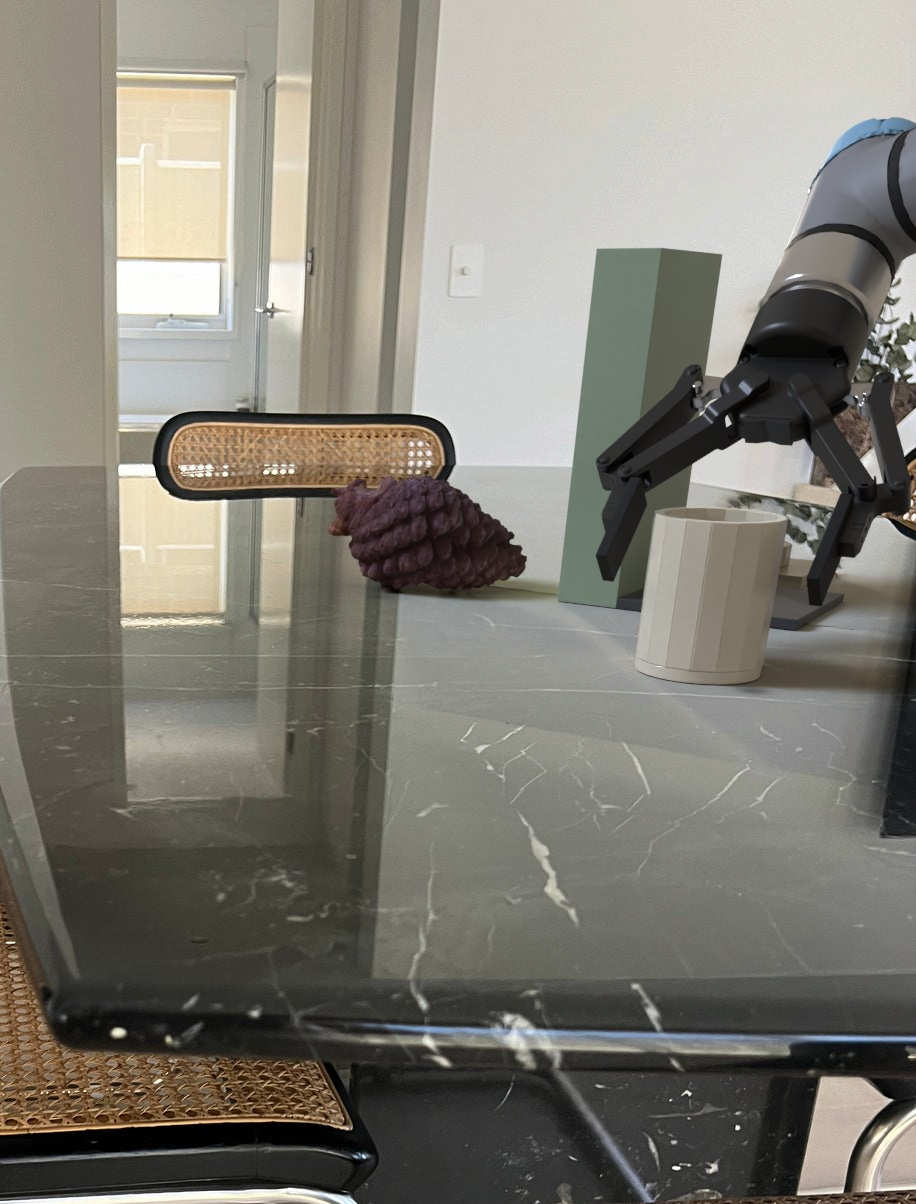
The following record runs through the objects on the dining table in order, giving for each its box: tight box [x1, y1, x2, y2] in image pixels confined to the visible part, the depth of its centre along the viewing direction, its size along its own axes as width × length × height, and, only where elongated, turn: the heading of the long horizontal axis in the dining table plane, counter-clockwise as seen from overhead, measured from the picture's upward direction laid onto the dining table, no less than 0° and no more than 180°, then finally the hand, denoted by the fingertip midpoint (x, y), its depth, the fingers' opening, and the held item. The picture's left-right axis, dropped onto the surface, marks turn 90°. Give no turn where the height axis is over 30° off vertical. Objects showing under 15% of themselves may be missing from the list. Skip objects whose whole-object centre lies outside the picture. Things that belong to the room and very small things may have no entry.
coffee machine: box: [556, 247, 845, 631], centre depth 115 cm, size 19×14×26 cm
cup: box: [634, 506, 789, 686], centre depth 95 cm, size 8×8×10 cm
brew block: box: [777, 540, 814, 590], centre depth 132 cm, size 12×10×3 cm
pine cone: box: [326, 474, 528, 591], centre depth 123 cm, size 18×10×10 cm
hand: (704, 580), depth 94 cm, fingers open, 13 cm apart
